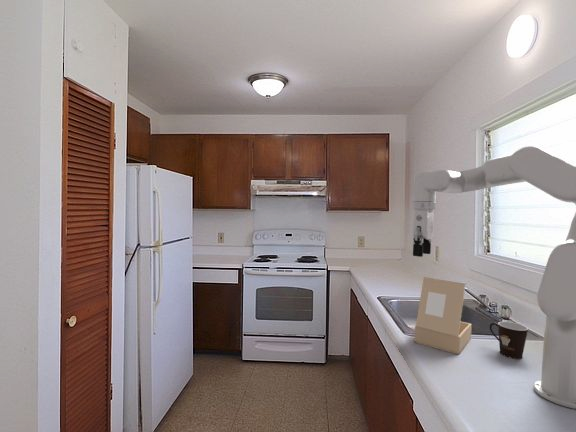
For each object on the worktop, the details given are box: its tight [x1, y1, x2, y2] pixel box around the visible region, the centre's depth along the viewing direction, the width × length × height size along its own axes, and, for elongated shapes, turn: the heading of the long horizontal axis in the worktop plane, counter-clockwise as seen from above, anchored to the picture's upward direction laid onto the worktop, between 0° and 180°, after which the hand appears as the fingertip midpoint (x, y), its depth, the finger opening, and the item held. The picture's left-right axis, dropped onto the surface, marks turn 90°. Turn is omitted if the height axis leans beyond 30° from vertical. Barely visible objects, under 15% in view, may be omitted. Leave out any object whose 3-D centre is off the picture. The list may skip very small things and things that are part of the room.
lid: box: [415, 277, 466, 336], centre depth 123 cm, size 14×18×1 cm
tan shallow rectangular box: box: [413, 321, 472, 355], centre depth 129 cm, size 15×18×6 cm
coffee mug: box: [489, 321, 529, 360], centre depth 120 cm, size 12×9×10 cm
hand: (421, 254), depth 124 cm, fingers open, 9 cm apart
